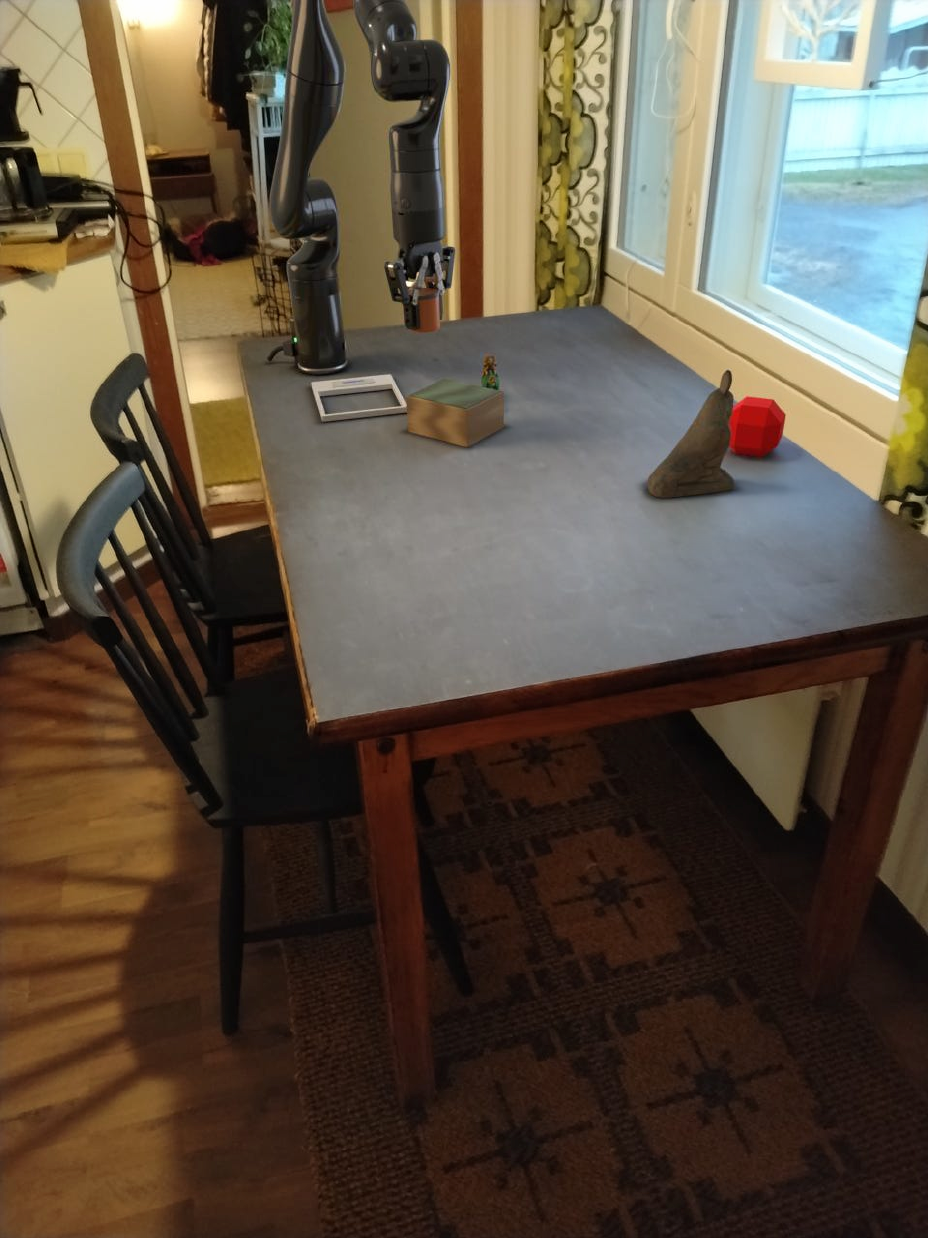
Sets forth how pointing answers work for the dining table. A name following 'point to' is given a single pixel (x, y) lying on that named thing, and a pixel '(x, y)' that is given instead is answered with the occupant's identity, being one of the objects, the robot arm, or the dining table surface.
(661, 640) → the dining table surface
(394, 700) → the dining table surface
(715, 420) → the brown carved statuette
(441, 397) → the riser block
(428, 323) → the orange tin
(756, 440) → the ball
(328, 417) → the photo frame
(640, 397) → the dining table surface
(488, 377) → the figurine
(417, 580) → the dining table surface
